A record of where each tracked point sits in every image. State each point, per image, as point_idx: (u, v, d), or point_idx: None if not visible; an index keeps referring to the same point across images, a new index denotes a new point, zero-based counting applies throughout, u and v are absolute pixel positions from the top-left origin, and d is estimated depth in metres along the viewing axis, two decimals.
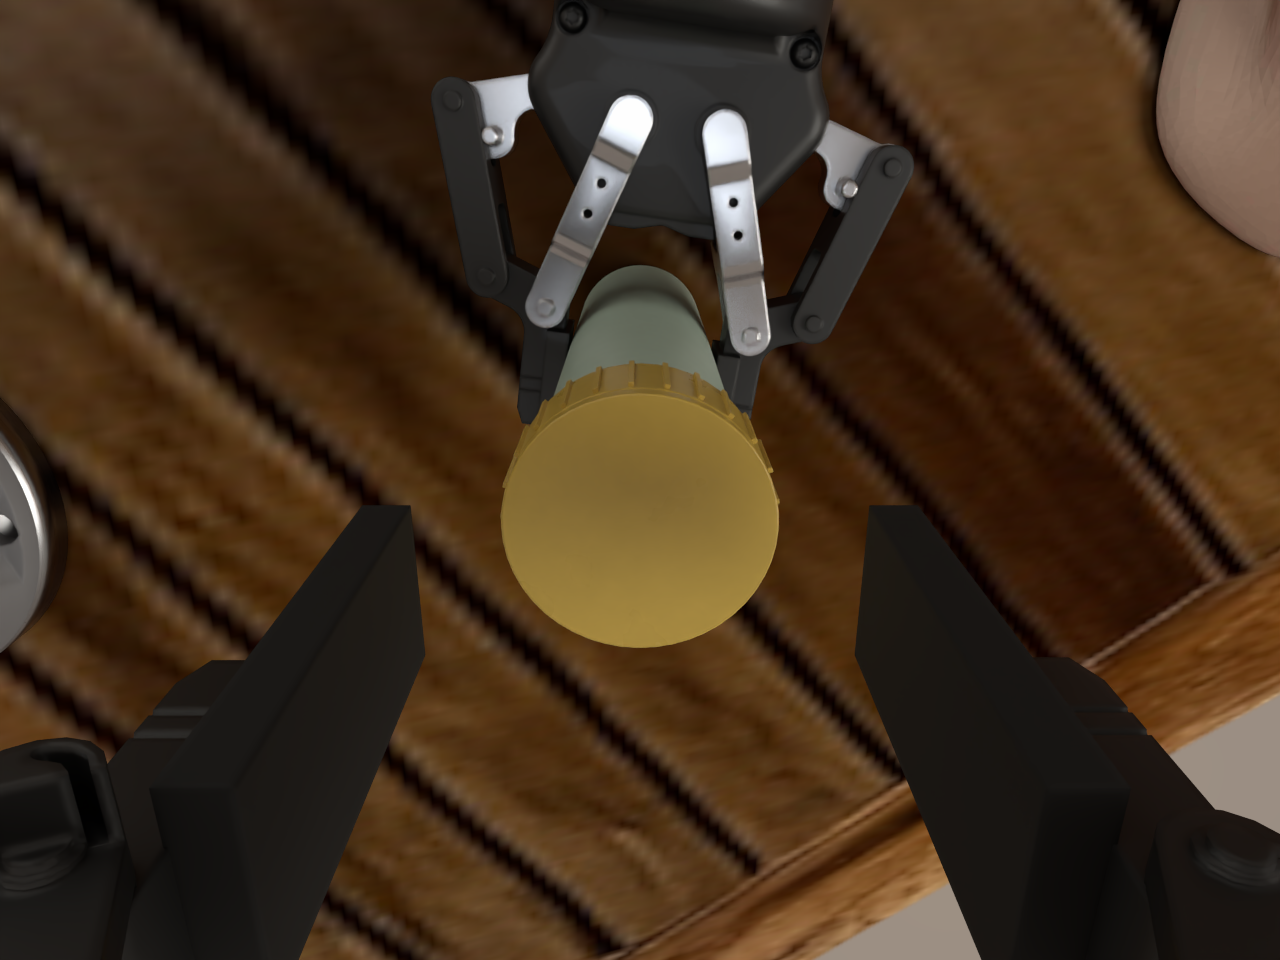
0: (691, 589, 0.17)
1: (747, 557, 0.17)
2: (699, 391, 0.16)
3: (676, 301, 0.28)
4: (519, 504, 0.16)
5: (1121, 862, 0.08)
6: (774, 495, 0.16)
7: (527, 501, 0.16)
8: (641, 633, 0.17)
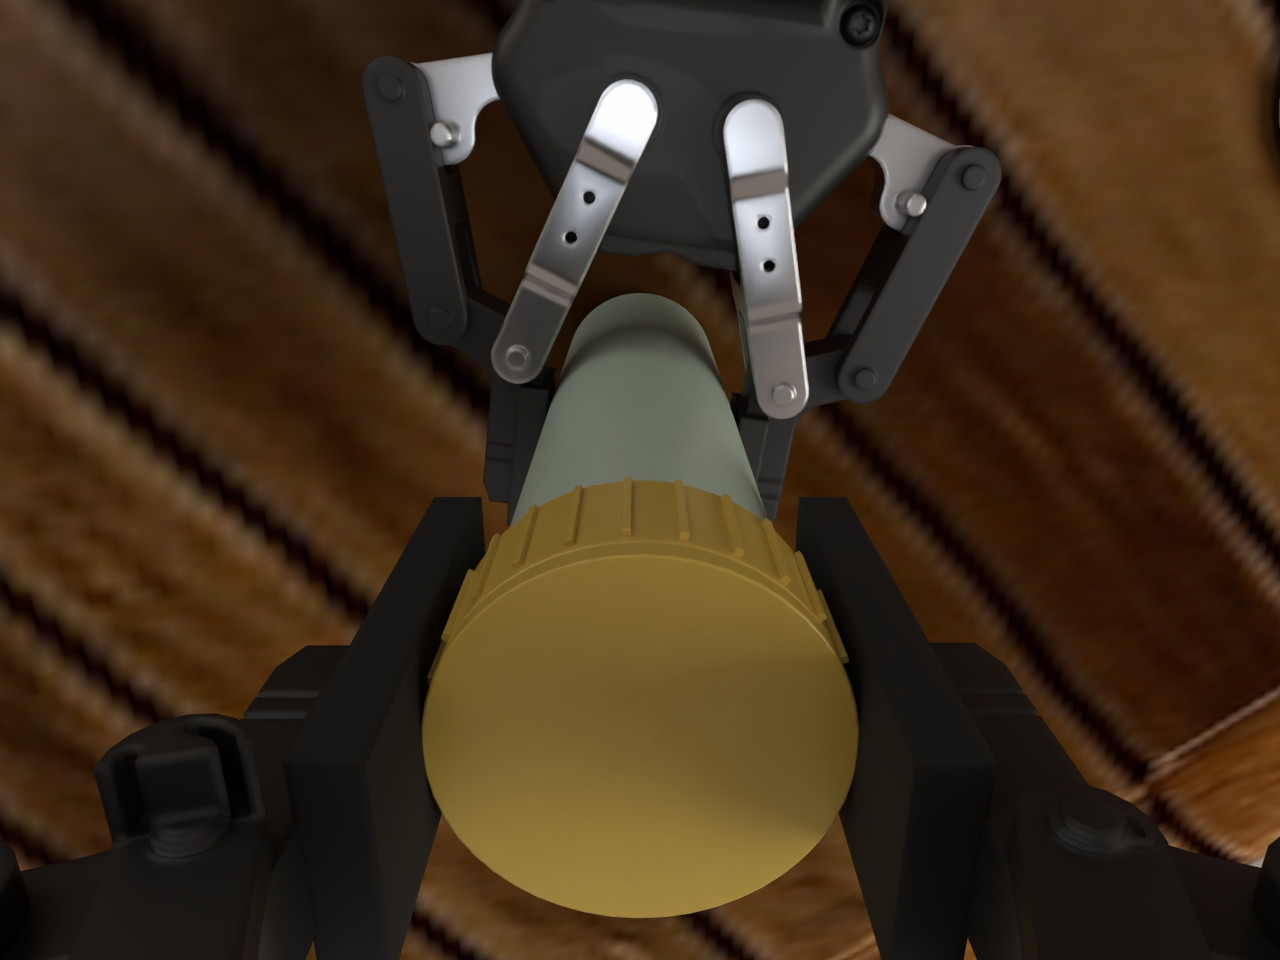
0: (720, 839, 0.11)
1: (808, 795, 0.11)
2: (734, 540, 0.10)
3: (686, 346, 0.22)
4: (449, 719, 0.10)
5: (988, 835, 0.08)
6: (854, 706, 0.10)
7: (461, 715, 0.10)
8: (642, 899, 0.11)
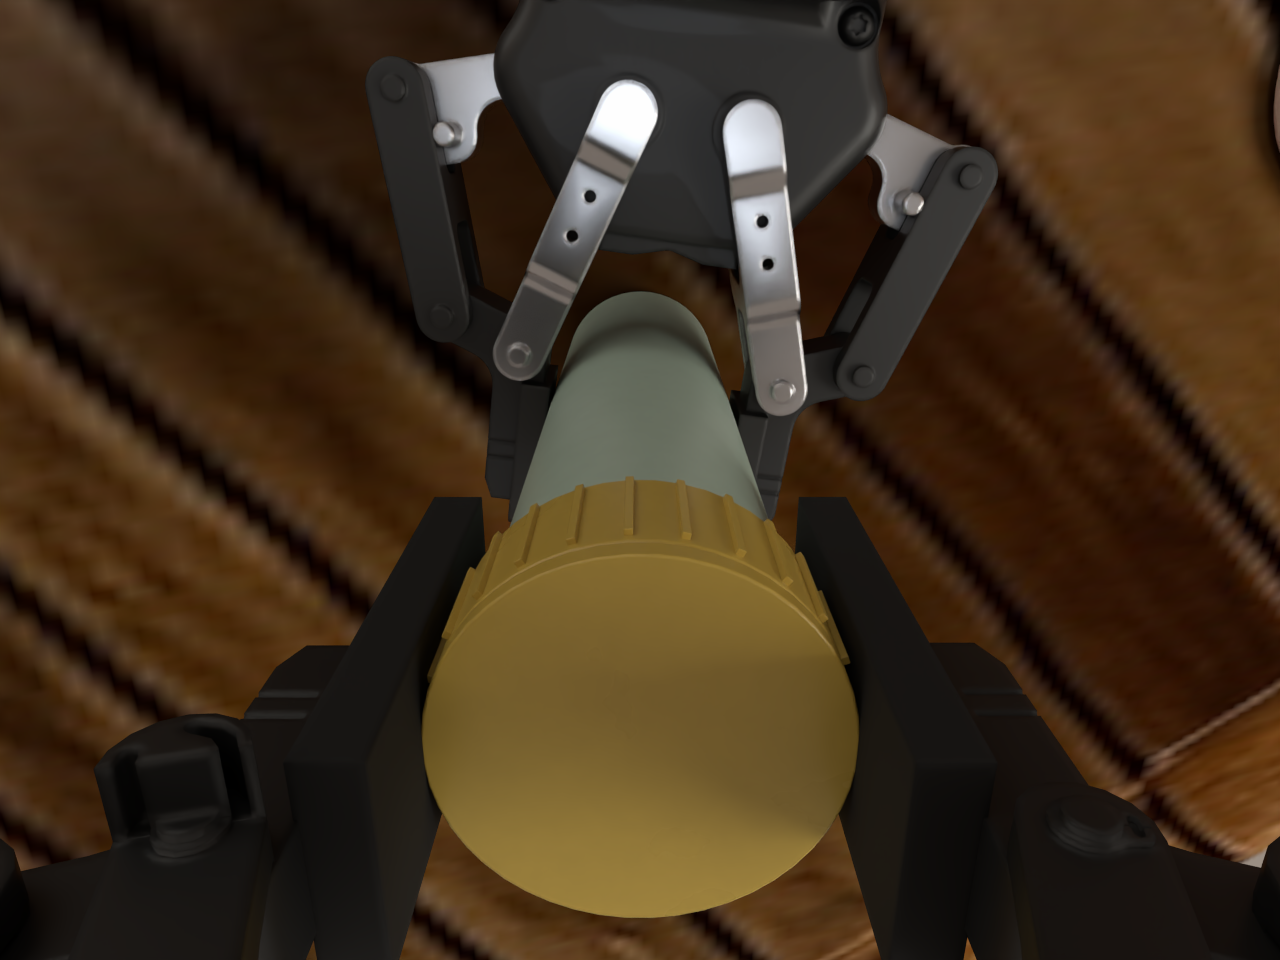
0: (772, 715, 0.10)
1: (750, 624, 0.10)
2: (475, 587, 0.10)
3: (686, 344, 0.22)
4: (548, 881, 0.11)
5: (988, 835, 0.08)
6: (655, 557, 0.10)
7: (547, 871, 0.11)
8: (818, 799, 0.11)
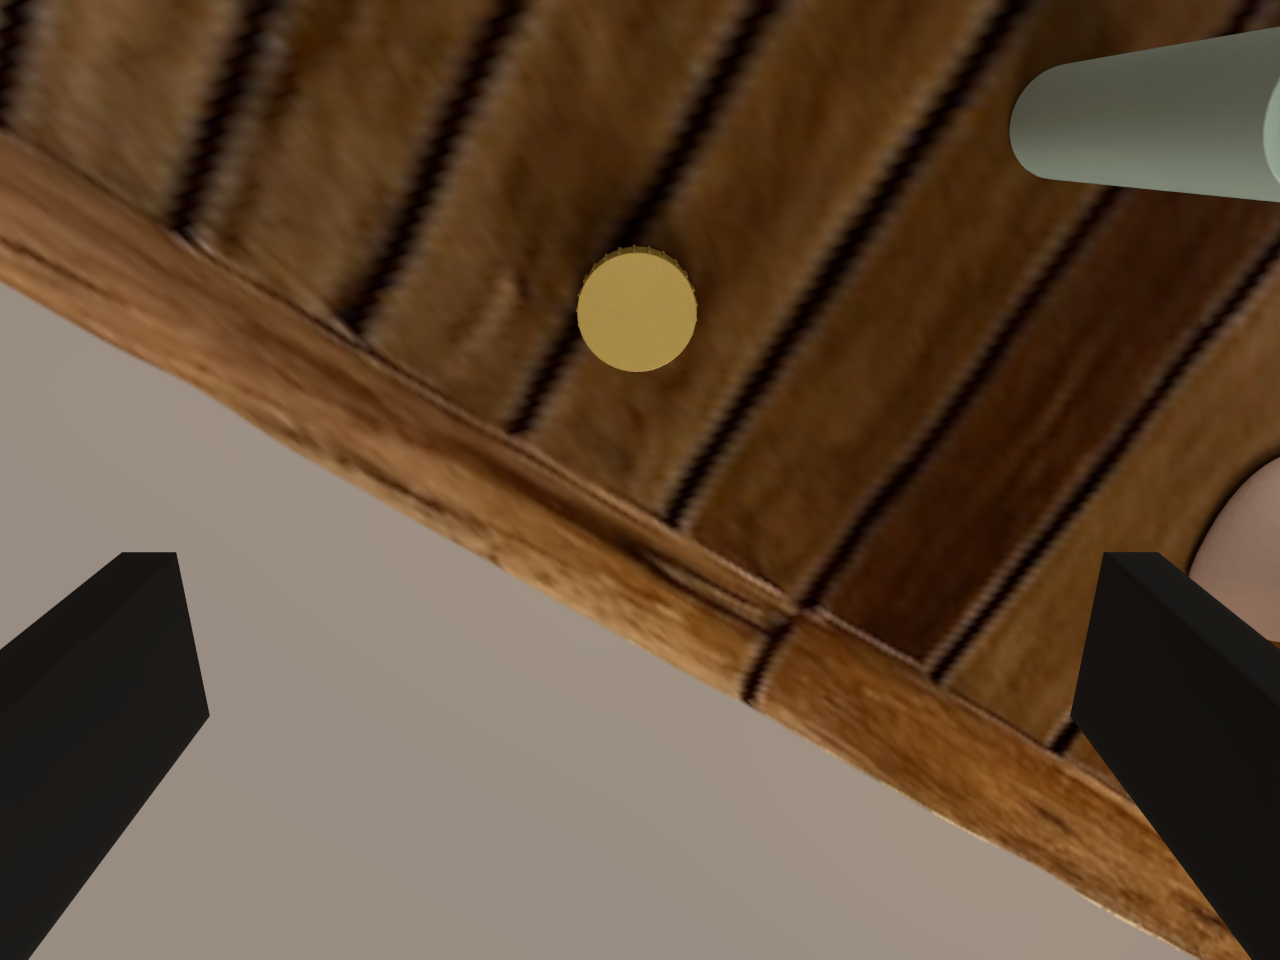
0: (636, 275, 0.38)
1: (607, 273, 0.38)
2: None
3: None
4: (670, 352, 0.39)
5: None
6: (581, 291, 0.38)
7: (667, 351, 0.39)
8: (668, 270, 0.38)
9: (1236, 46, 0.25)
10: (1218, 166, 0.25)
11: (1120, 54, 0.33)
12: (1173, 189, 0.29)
